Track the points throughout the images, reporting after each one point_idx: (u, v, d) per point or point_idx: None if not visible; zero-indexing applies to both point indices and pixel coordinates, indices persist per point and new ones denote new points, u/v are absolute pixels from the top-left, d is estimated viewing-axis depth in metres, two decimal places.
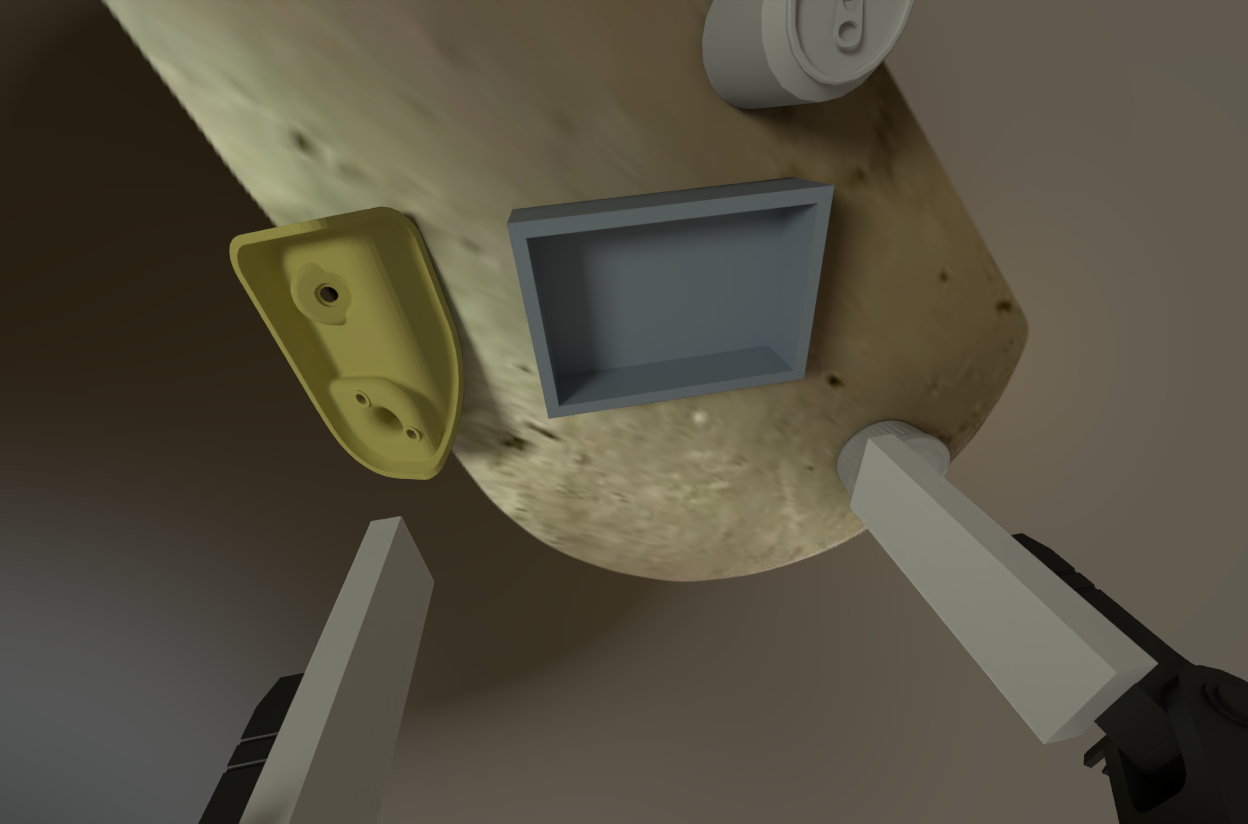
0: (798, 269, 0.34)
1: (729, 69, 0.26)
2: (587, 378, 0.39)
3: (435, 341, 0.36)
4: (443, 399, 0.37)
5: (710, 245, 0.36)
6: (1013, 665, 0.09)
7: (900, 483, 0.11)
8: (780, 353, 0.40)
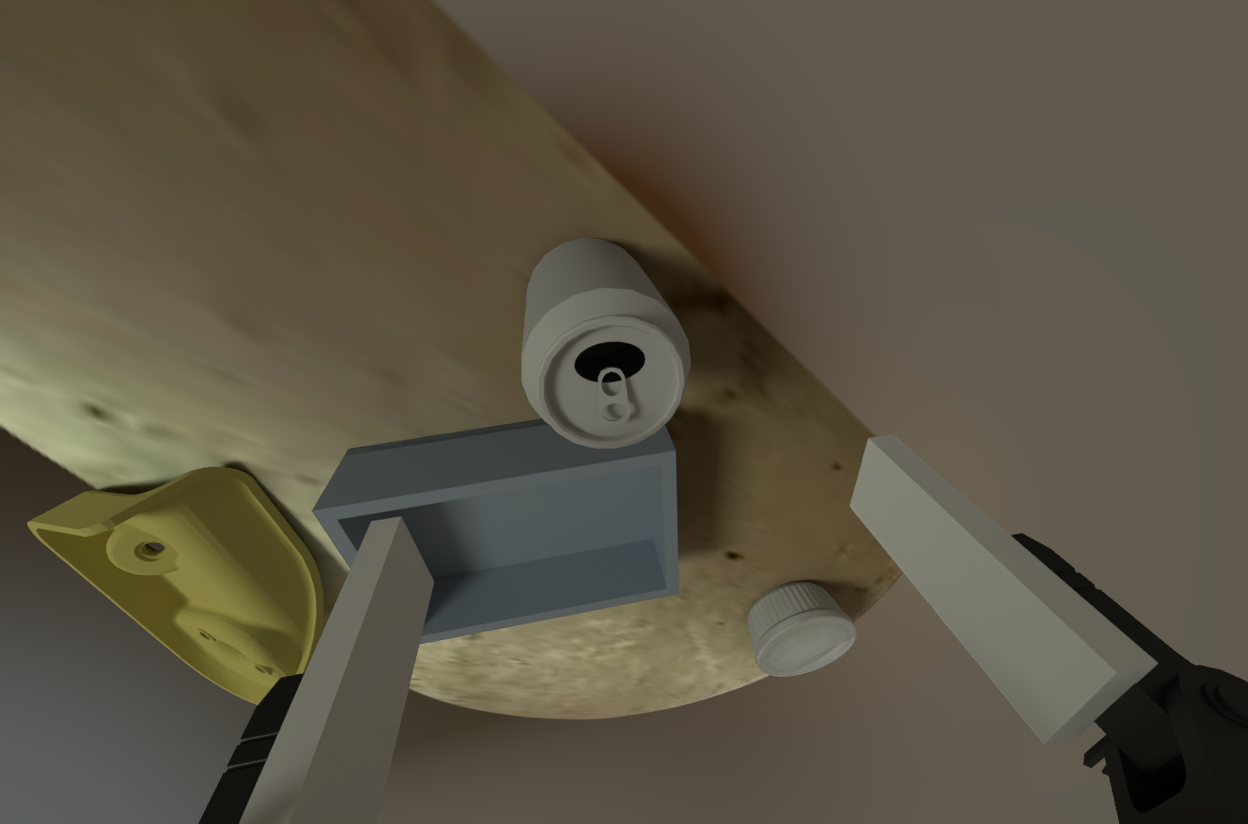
0: (658, 503, 0.32)
1: None
2: (455, 586, 0.37)
3: (284, 571, 0.34)
4: (298, 624, 0.35)
5: None
6: (1013, 665, 0.09)
7: (900, 483, 0.11)
8: (659, 558, 0.38)
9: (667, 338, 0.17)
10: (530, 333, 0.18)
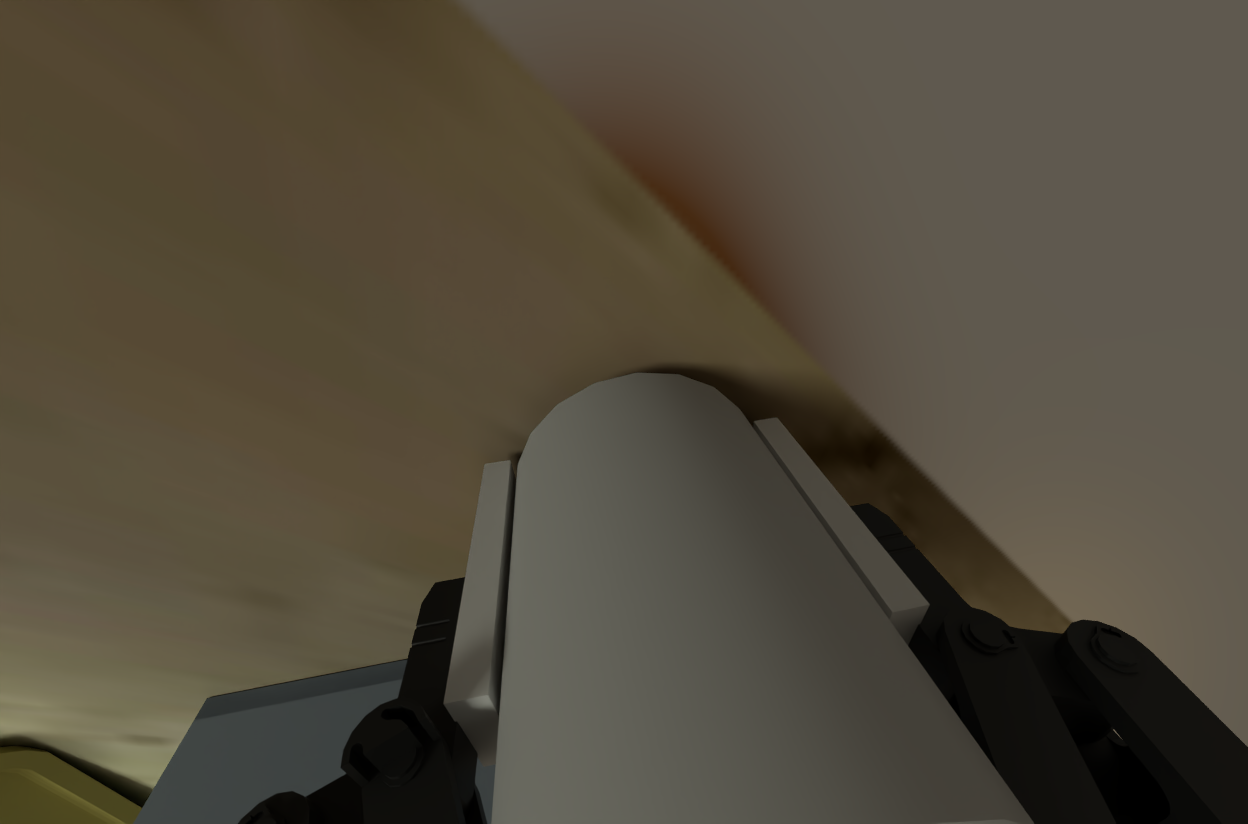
0: None
1: None
2: None
3: None
4: None
5: None
6: None
7: None
8: None
9: None
10: None
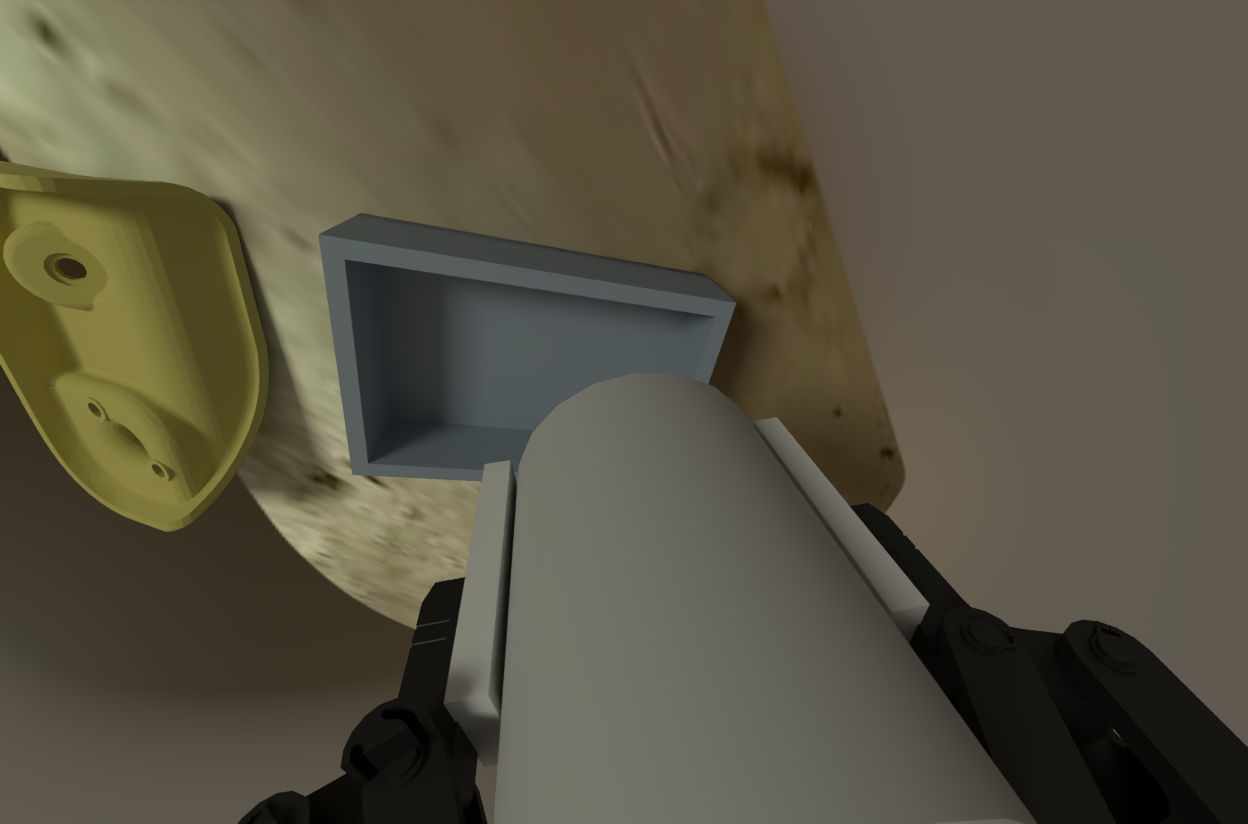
0: (686, 376, 0.30)
1: None
2: (426, 431, 0.32)
3: (229, 361, 0.28)
4: (224, 433, 0.29)
5: (601, 321, 0.31)
6: None
7: None
8: None
9: None
10: None
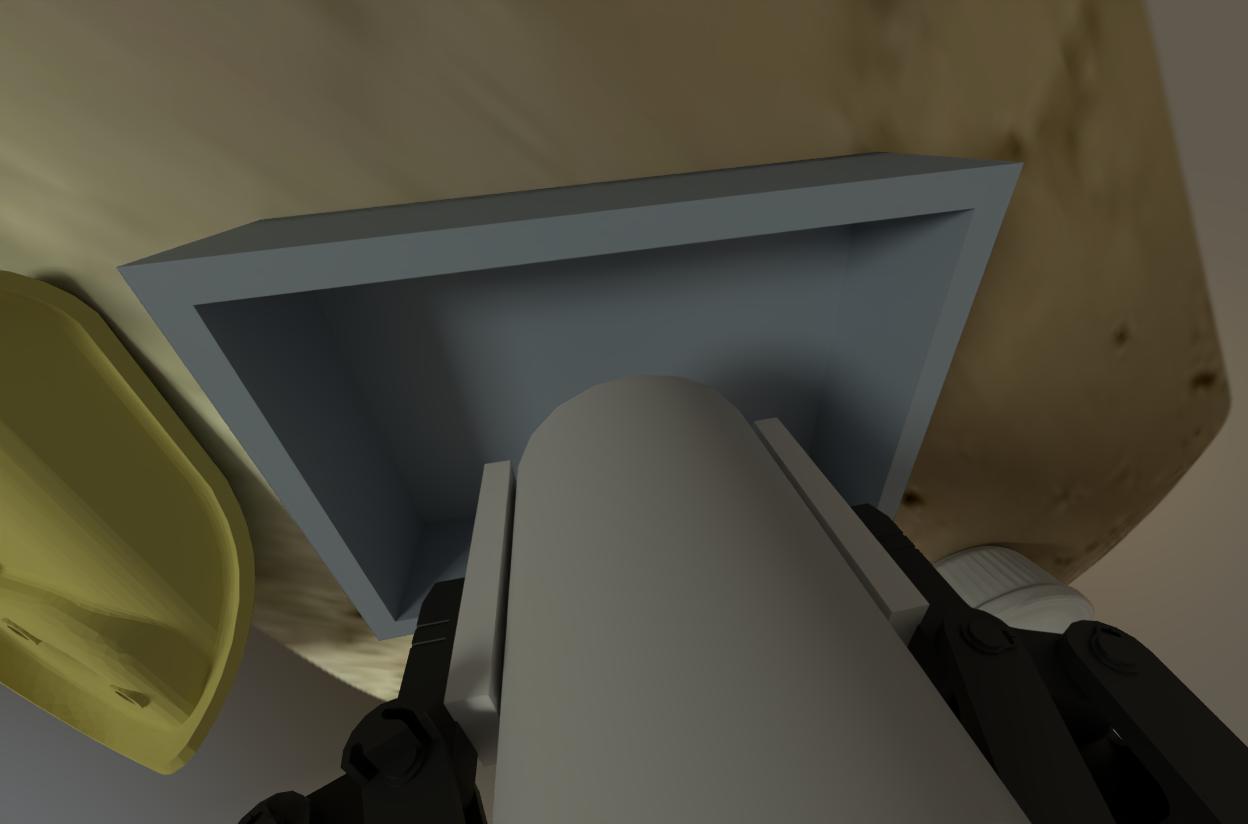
0: (894, 349, 0.16)
1: None
2: None
3: (174, 514, 0.18)
4: (205, 614, 0.19)
5: (706, 292, 0.18)
6: None
7: None
8: (836, 485, 0.21)
9: None
10: None
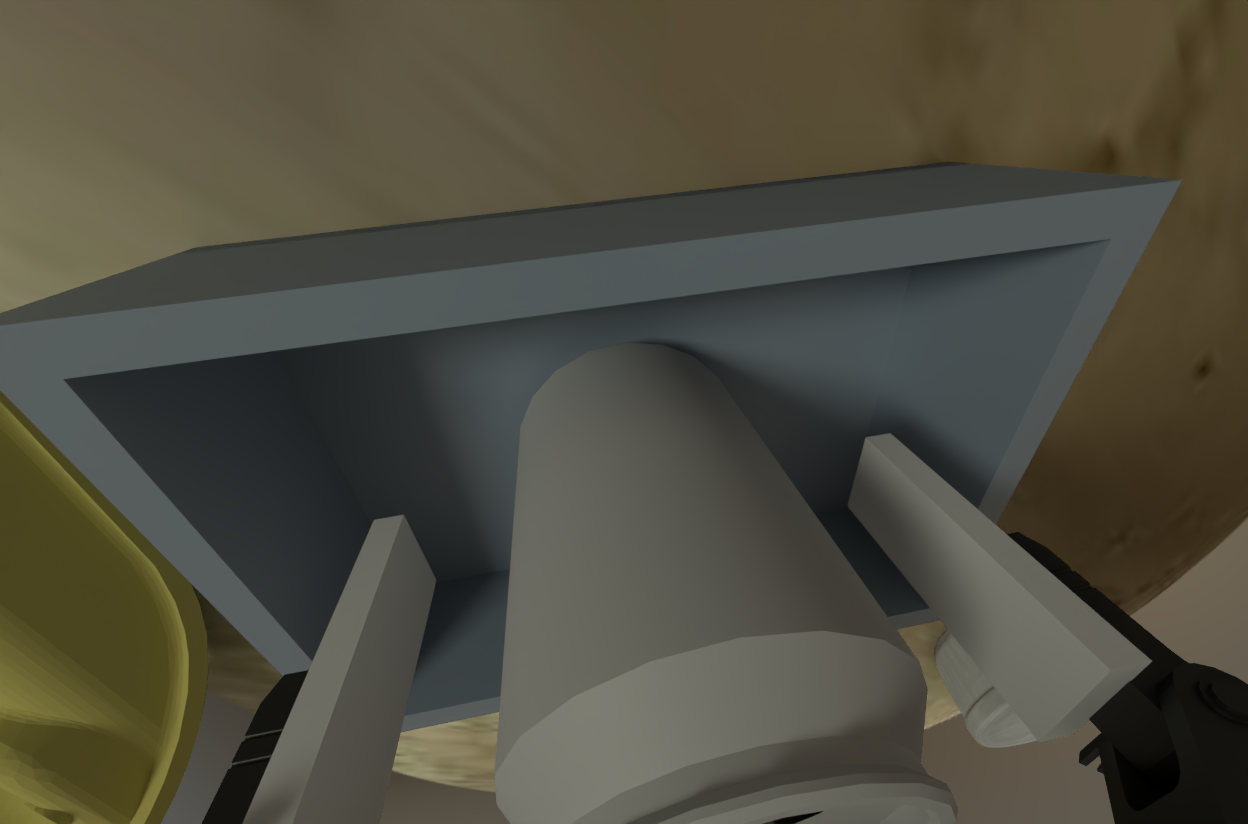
0: (972, 402, 0.13)
1: None
2: (467, 601, 0.18)
3: (109, 599, 0.15)
4: (146, 710, 0.17)
5: (738, 328, 0.15)
6: (1009, 663, 0.09)
7: (897, 482, 0.12)
8: None
9: (941, 797, 0.06)
10: (518, 735, 0.06)
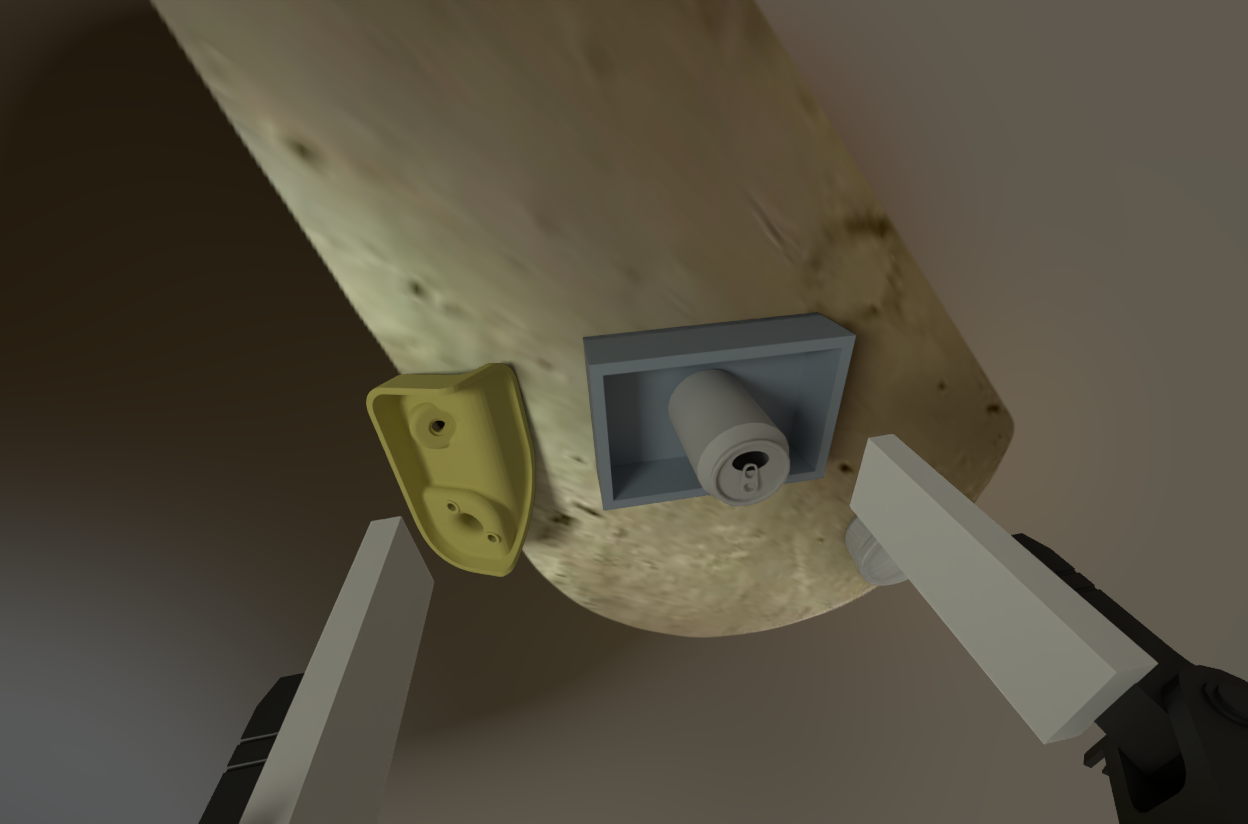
0: (822, 391, 0.40)
1: None
2: (634, 470, 0.45)
3: (517, 460, 0.42)
4: (518, 506, 0.43)
5: (746, 365, 0.42)
6: (1013, 665, 0.09)
7: (900, 483, 0.11)
8: (802, 452, 0.46)
9: (784, 450, 0.33)
10: (708, 444, 0.33)
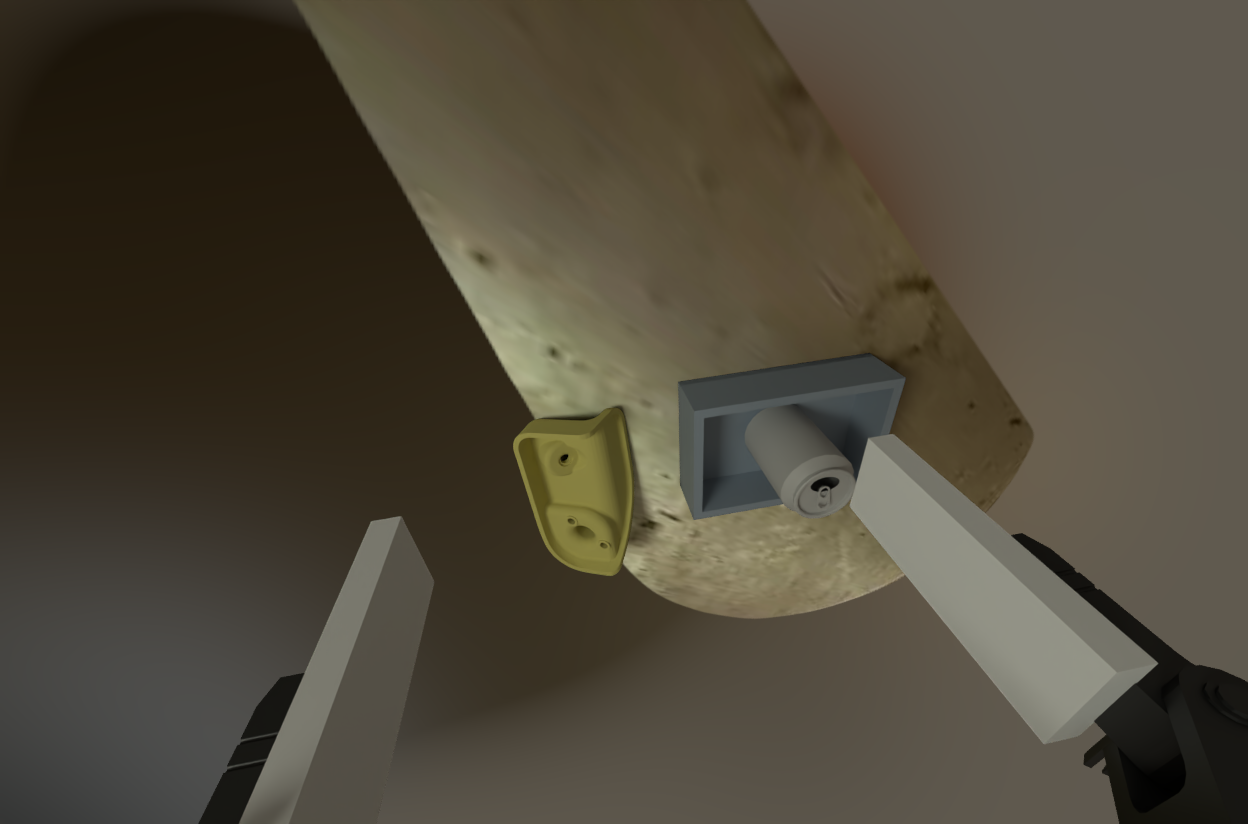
0: (874, 419, 0.49)
1: (761, 469, 0.49)
2: (713, 485, 0.54)
3: (622, 482, 0.52)
4: (622, 519, 0.53)
5: None
6: (1013, 665, 0.09)
7: (900, 483, 0.11)
8: (853, 466, 0.54)
9: (852, 476, 0.42)
10: (791, 471, 0.42)
